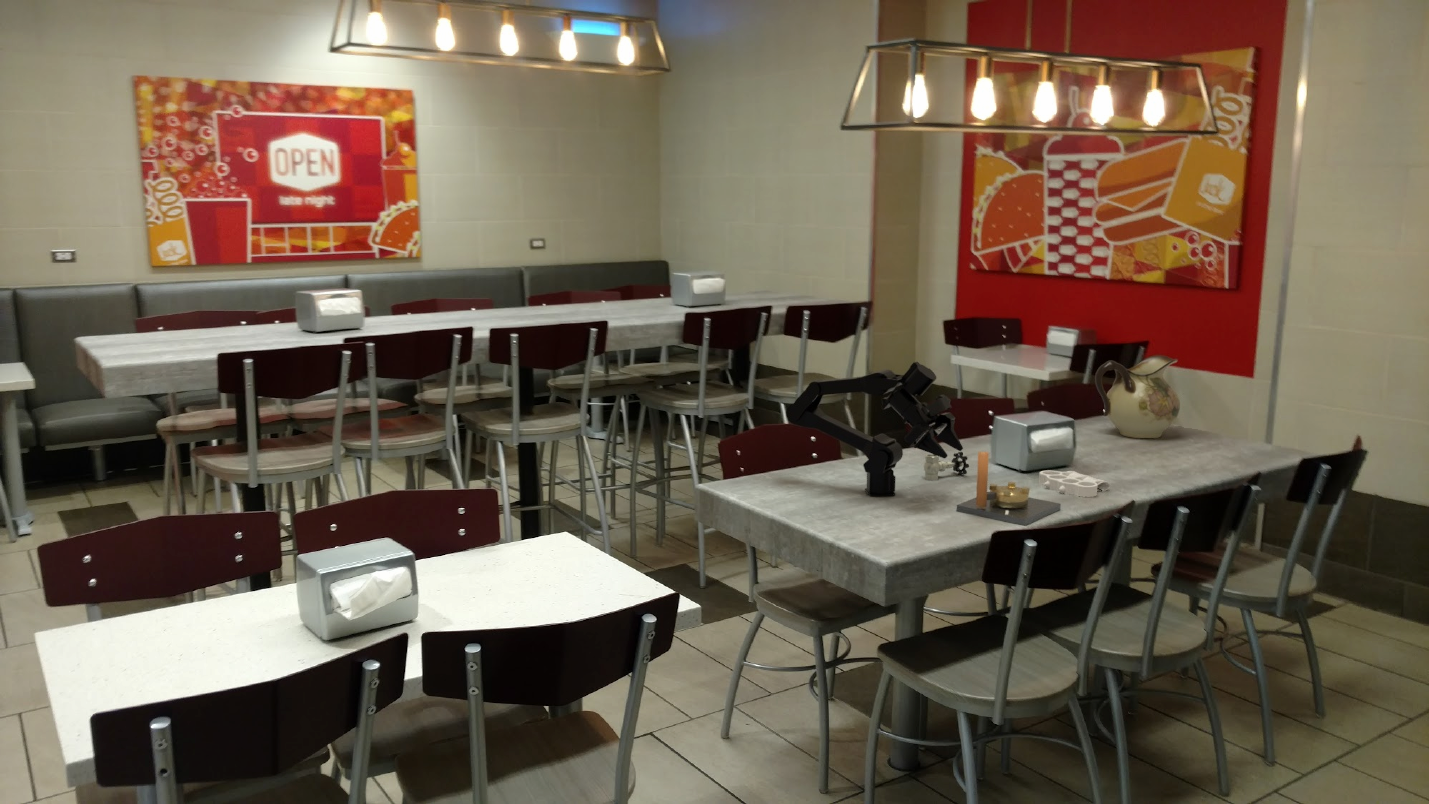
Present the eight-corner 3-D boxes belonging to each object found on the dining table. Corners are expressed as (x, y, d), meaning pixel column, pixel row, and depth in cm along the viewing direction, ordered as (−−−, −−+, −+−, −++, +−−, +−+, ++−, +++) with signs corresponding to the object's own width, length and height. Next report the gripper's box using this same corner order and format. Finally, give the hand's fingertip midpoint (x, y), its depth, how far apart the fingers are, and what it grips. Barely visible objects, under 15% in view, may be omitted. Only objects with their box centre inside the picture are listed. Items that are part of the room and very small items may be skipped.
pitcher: (1189, 434, 348) (1193, 356, 344) (1159, 446, 331) (1164, 365, 327) (1120, 425, 363) (1124, 351, 359) (1089, 436, 347) (1092, 359, 342)
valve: (932, 482, 290) (968, 477, 295) (932, 458, 289) (969, 454, 294) (917, 477, 296) (953, 472, 301) (918, 453, 295) (954, 449, 300)
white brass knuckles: (1118, 494, 279) (1075, 501, 273) (1067, 479, 295) (1026, 485, 289) (1119, 482, 278) (1076, 488, 272) (1068, 466, 294) (1026, 473, 288)
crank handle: (1012, 496, 269) (1014, 444, 267) (1035, 505, 261) (1038, 452, 259) (965, 502, 264) (968, 449, 262) (988, 512, 256) (990, 457, 254)
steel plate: (956, 511, 263) (956, 504, 263) (993, 496, 276) (993, 489, 276) (1025, 525, 251) (1025, 518, 251) (1060, 509, 264) (1060, 502, 264)
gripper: (912, 391, 260) (959, 438, 255) (945, 380, 275) (989, 424, 269) (885, 423, 265) (930, 469, 260) (918, 411, 280) (961, 454, 275)
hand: (954, 453), depth 266 cm, fingers open, 9 cm apart
